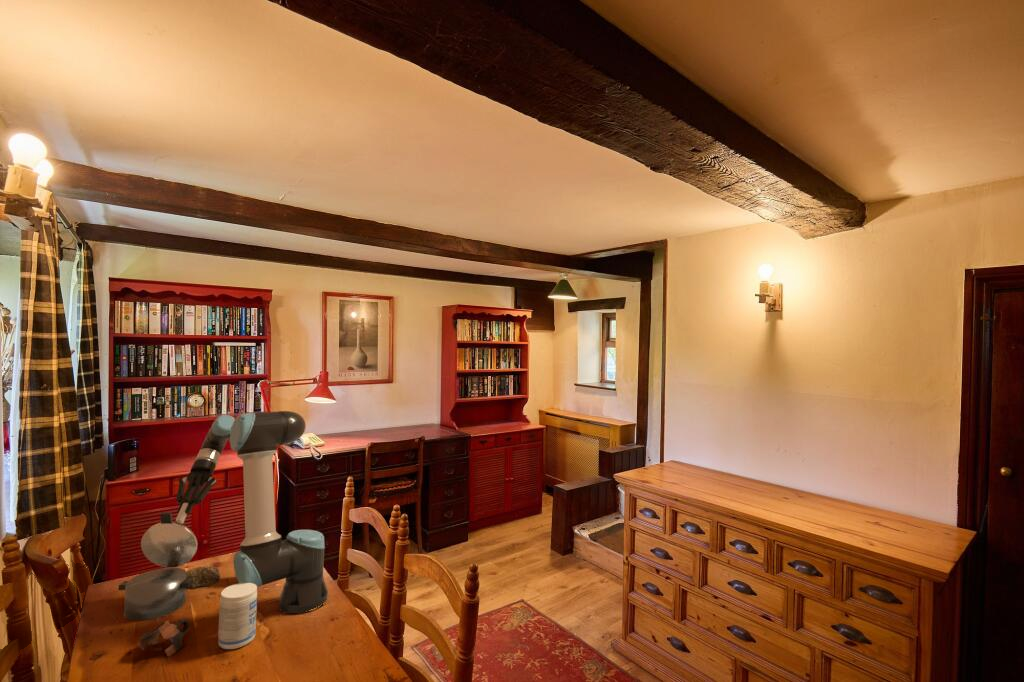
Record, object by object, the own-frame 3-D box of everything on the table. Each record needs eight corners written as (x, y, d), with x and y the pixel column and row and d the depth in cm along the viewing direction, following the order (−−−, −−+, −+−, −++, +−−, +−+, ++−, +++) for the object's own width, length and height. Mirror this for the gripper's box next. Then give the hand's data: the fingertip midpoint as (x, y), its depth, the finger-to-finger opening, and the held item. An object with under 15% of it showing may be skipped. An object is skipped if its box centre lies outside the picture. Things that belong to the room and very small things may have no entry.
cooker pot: (176, 619, 149) (177, 590, 149) (102, 622, 146) (104, 592, 147) (204, 591, 166) (205, 565, 166) (138, 593, 163) (140, 567, 164)
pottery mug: (159, 666, 128) (144, 639, 128) (143, 670, 132) (128, 644, 132) (202, 631, 139) (188, 607, 139) (186, 636, 143) (173, 612, 143)
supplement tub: (256, 644, 138) (259, 593, 138) (218, 655, 133) (220, 601, 133) (253, 627, 146) (255, 578, 146) (217, 636, 141) (219, 586, 141)
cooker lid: (192, 514, 160) (194, 512, 161) (136, 514, 158) (139, 512, 159) (197, 566, 165) (199, 564, 166) (144, 568, 163) (146, 565, 164)
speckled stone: (178, 579, 175) (178, 565, 175) (217, 570, 183) (217, 556, 183) (183, 593, 165) (184, 578, 165) (224, 582, 174) (225, 568, 174)
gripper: (226, 468, 188) (202, 526, 171) (190, 468, 187) (163, 527, 170) (220, 457, 183) (195, 516, 166) (183, 457, 182) (154, 517, 165)
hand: (179, 522), depth 168 cm, fingers closed
